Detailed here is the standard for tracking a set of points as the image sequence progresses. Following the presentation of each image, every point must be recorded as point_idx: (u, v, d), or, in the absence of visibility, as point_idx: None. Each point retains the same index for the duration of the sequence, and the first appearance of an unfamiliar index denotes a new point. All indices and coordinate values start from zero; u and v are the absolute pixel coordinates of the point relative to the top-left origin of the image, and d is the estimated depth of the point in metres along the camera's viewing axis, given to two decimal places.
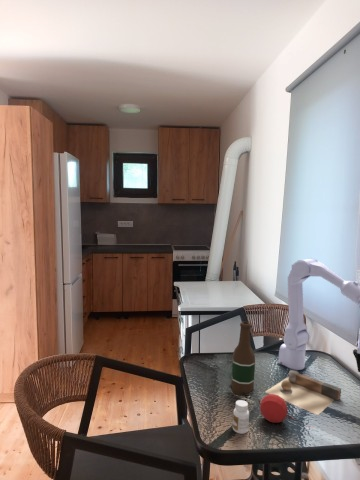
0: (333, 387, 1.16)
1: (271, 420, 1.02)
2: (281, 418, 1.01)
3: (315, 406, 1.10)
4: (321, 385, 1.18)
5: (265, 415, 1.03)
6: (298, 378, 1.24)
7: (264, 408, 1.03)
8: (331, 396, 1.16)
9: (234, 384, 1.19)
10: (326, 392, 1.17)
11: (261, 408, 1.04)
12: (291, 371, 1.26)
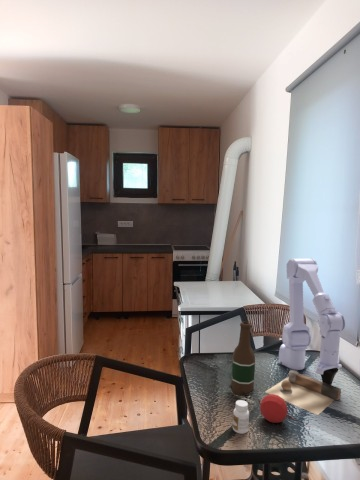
0: (333, 387, 1.16)
1: (271, 420, 1.02)
2: (281, 418, 1.01)
3: (315, 406, 1.10)
4: (321, 385, 1.18)
5: (265, 415, 1.03)
6: (298, 378, 1.24)
7: (264, 408, 1.03)
8: (331, 396, 1.16)
9: (234, 384, 1.19)
10: (326, 392, 1.17)
11: (261, 408, 1.04)
12: (291, 371, 1.26)
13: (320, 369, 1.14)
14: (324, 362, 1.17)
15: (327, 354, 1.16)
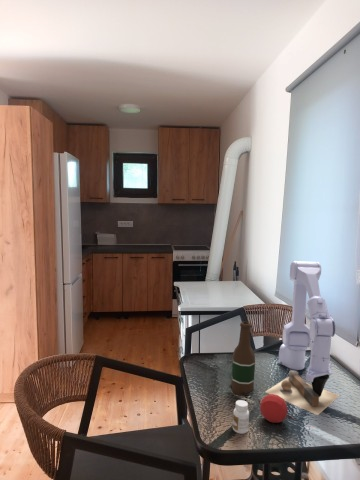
0: (312, 392, 1.12)
1: (271, 420, 1.02)
2: (281, 418, 1.01)
3: (315, 406, 1.10)
4: (304, 388, 1.16)
5: (265, 415, 1.03)
6: (293, 378, 1.24)
7: (264, 408, 1.03)
8: (308, 401, 1.12)
9: (234, 384, 1.19)
10: (306, 396, 1.14)
11: (261, 408, 1.04)
12: (292, 371, 1.27)
13: (310, 376, 1.08)
14: (314, 369, 1.12)
15: (317, 360, 1.11)
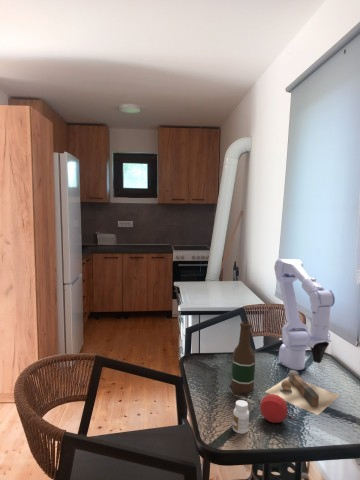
0: (312, 392, 1.12)
1: (271, 420, 1.02)
2: (281, 418, 1.01)
3: (315, 406, 1.10)
4: (304, 388, 1.16)
5: (265, 415, 1.03)
6: (293, 378, 1.24)
7: (264, 408, 1.03)
8: (308, 401, 1.12)
9: (234, 384, 1.19)
10: (306, 396, 1.14)
11: (261, 408, 1.04)
12: (292, 371, 1.27)
13: (310, 342, 1.19)
14: (315, 336, 1.22)
15: (317, 329, 1.21)
